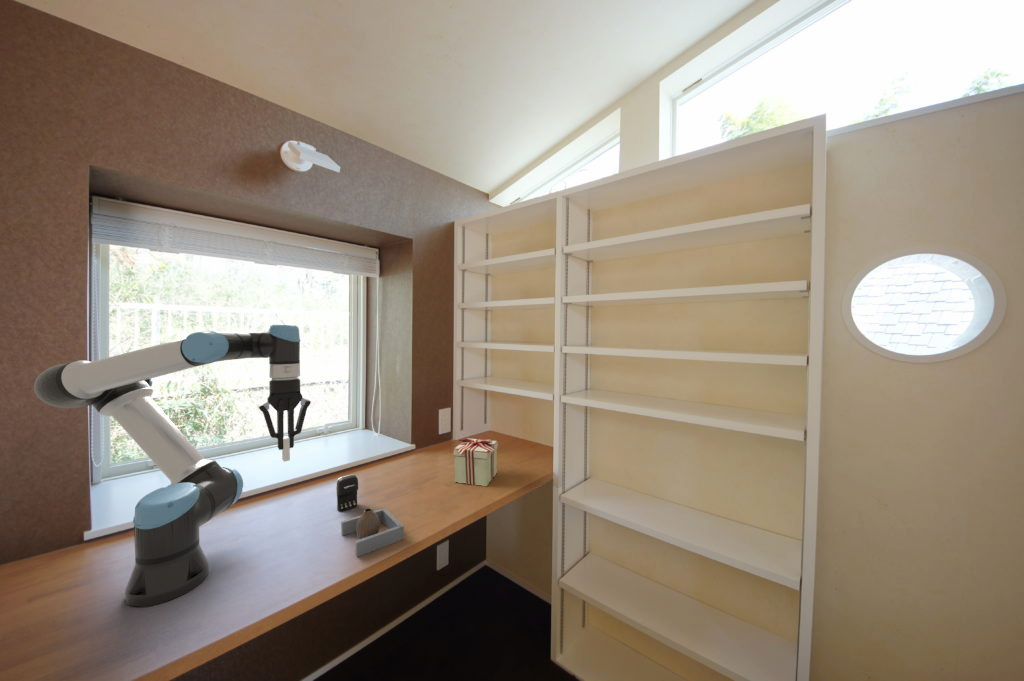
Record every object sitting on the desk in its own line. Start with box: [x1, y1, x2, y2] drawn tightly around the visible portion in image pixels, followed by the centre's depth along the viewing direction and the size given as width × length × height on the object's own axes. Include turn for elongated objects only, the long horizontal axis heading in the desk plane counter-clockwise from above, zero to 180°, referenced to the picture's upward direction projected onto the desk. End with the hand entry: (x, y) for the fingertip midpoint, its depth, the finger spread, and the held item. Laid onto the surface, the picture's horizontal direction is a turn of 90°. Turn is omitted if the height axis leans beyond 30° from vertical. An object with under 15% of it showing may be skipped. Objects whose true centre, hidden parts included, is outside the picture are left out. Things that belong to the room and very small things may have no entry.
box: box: [340, 507, 405, 558], centre depth 112 cm, size 14×15×4 cm
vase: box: [355, 507, 381, 540], centre depth 111 cm, size 7×7×9 cm
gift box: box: [453, 437, 499, 487], centre depth 155 cm, size 17×18×17 cm
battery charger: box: [335, 474, 359, 512], centre depth 130 cm, size 7×4×11 cm, turn 130°
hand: (286, 459), depth 105 cm, fingers closed
